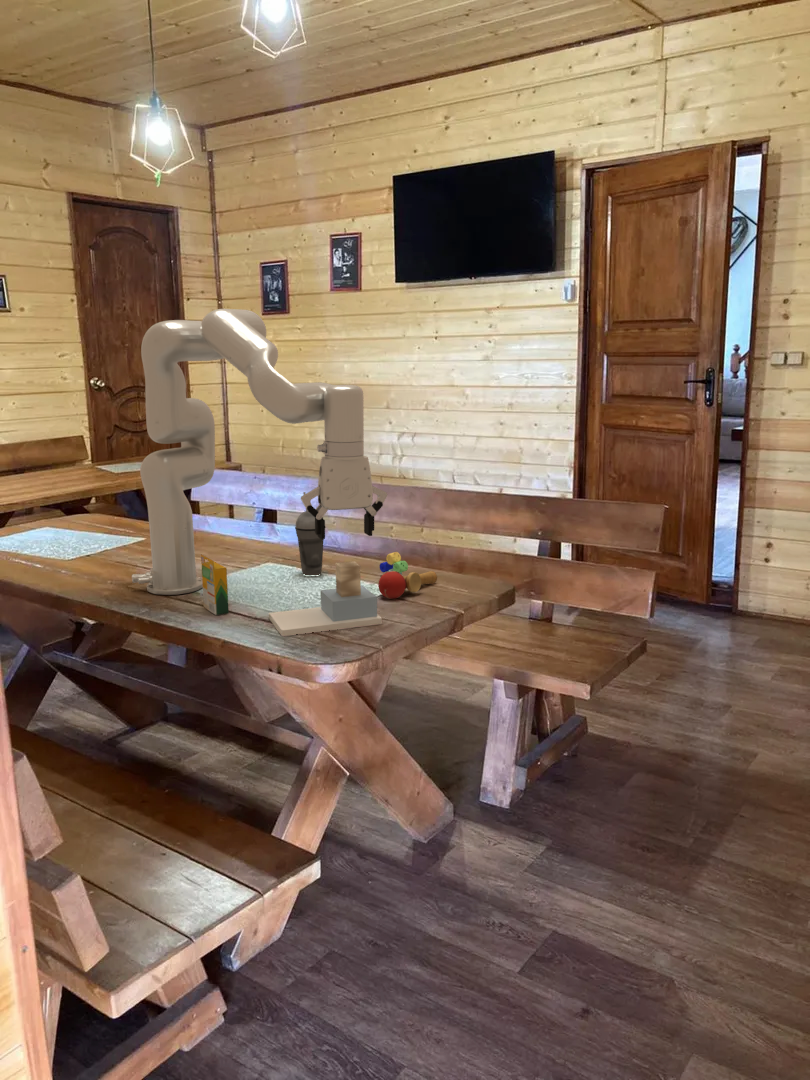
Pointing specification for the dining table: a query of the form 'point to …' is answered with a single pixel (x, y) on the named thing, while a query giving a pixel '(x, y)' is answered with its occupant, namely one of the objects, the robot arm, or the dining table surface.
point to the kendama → (403, 583)
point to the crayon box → (214, 586)
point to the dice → (396, 560)
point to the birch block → (348, 579)
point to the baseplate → (314, 621)
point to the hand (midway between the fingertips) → (344, 536)
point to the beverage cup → (309, 544)
